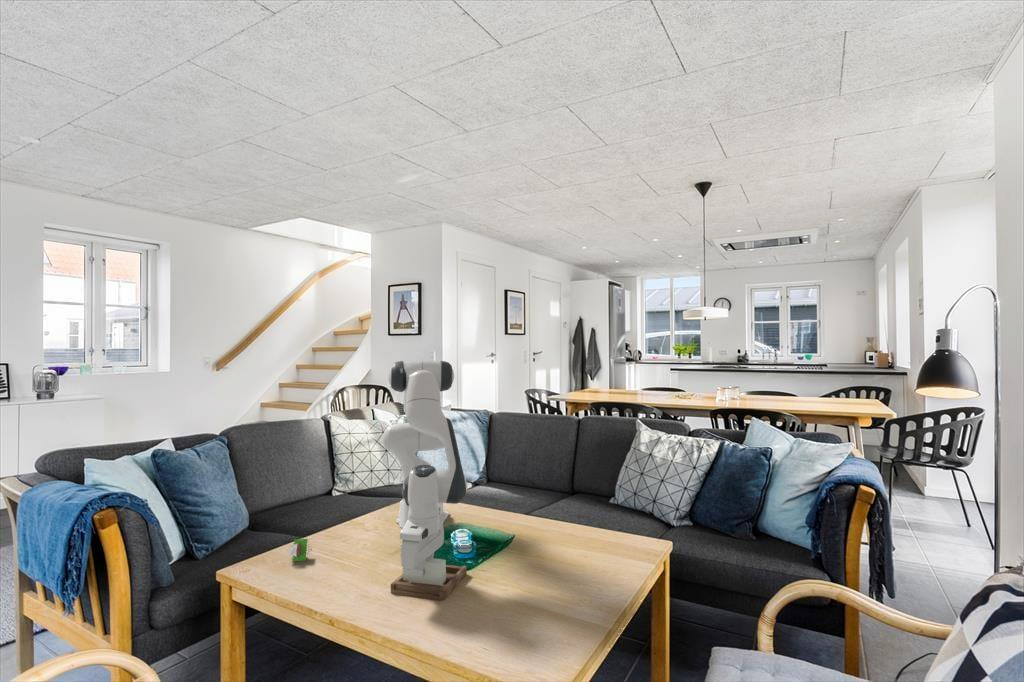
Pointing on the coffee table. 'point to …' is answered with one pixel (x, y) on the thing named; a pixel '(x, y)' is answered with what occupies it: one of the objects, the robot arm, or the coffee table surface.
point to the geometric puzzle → (299, 550)
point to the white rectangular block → (428, 572)
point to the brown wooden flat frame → (430, 585)
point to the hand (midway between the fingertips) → (424, 572)
